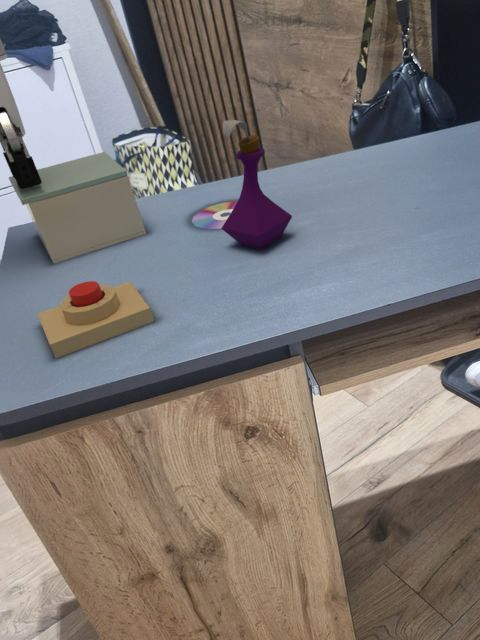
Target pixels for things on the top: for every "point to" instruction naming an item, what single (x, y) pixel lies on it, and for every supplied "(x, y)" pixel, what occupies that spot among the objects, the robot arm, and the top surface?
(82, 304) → the button
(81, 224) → the compartment
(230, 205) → the cd
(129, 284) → the control block
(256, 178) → the perfume bottle
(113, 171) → the lid
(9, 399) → the top surface
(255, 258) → the top surface
